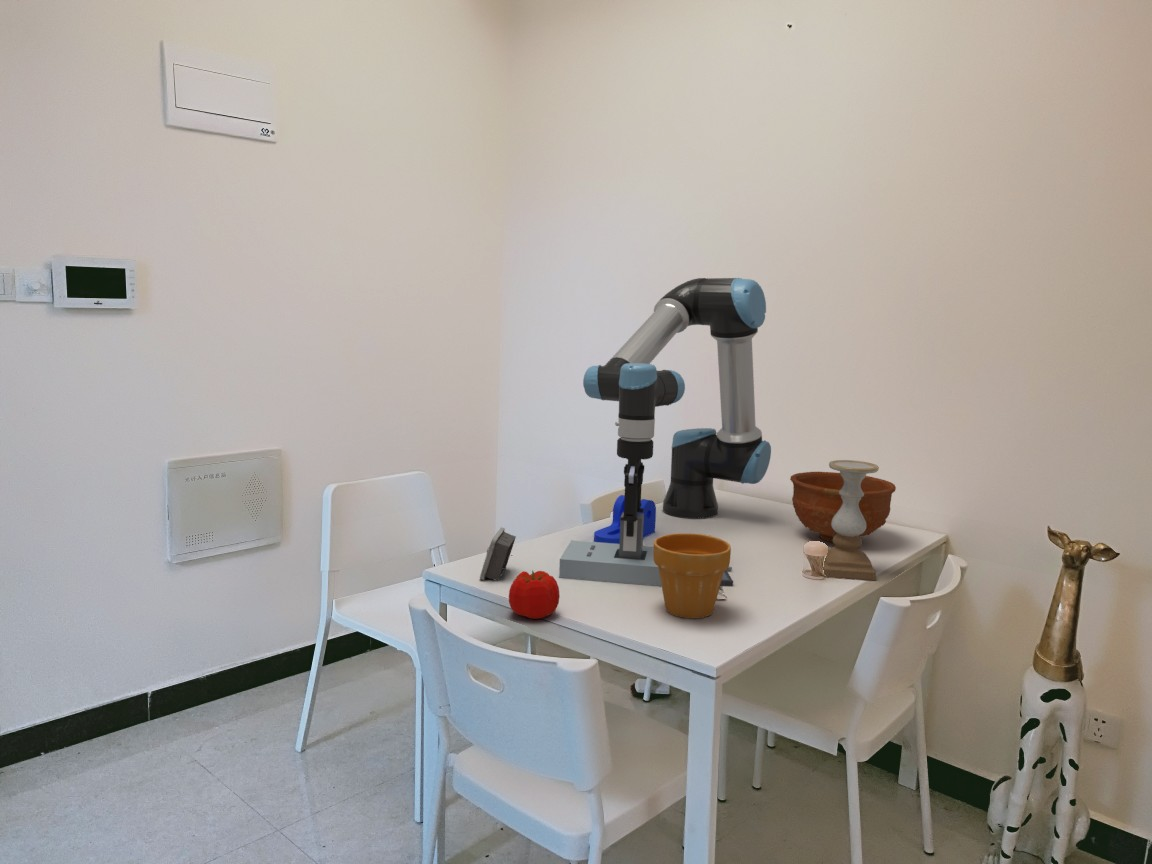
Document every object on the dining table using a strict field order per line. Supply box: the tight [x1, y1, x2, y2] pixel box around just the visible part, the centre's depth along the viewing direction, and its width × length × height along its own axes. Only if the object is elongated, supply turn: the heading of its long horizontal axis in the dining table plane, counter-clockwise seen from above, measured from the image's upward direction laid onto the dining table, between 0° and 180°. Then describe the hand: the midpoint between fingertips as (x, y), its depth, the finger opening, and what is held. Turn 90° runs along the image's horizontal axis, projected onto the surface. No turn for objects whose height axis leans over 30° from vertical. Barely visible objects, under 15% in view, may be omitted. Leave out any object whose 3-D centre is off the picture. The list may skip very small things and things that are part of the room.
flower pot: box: [653, 532, 732, 619], centre depth 155 cm, size 14×14×13 cm
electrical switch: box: [479, 527, 517, 581], centre depth 172 cm, size 9×5×9 cm, turn 173°
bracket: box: [593, 494, 657, 544], centre depth 202 cm, size 18×8×9 cm, turn 145°
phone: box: [720, 570, 734, 587], centre depth 173 cm, size 7×14×1 cm, turn 91°
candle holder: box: [823, 459, 880, 582], centre depth 180 cm, size 11×11×24 cm
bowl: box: [789, 471, 897, 543], centre depth 206 cm, size 25×25×15 cm
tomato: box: [508, 570, 561, 620], centre depth 151 cm, size 9×9×8 cm
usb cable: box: [726, 566, 733, 572], centre depth 182 cm, size 15×1×1 cm, turn 71°
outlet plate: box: [558, 539, 662, 587], centre depth 176 cm, size 14×22×4 cm, turn 81°
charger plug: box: [619, 512, 644, 560], centre depth 175 cm, size 4×4×12 cm
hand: (631, 546), depth 175 cm, fingers open, 5 cm apart
